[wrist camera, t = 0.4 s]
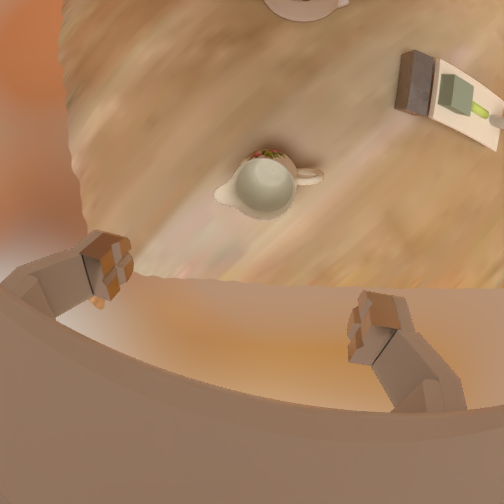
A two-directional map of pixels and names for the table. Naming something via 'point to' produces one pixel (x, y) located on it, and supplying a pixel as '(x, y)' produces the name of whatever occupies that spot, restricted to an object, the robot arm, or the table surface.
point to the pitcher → (265, 185)
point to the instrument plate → (474, 120)
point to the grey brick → (414, 83)
